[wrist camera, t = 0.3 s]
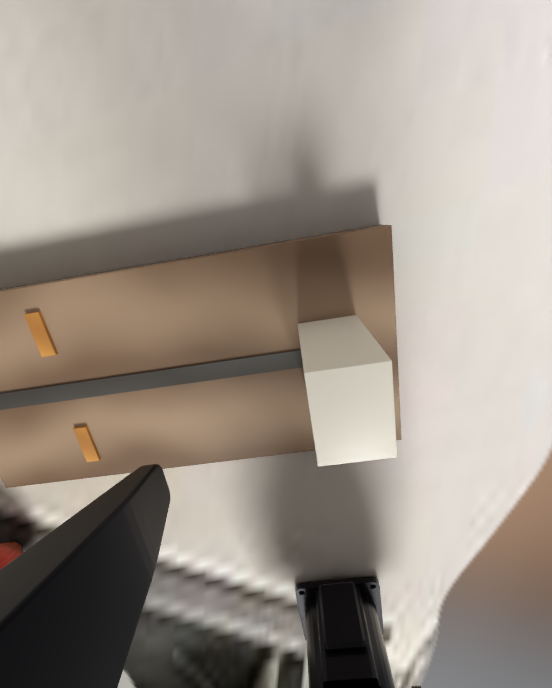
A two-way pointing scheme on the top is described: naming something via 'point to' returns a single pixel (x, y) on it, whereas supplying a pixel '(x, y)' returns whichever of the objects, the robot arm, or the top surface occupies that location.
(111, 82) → the top surface
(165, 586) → the top surface
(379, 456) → the fader knob
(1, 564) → the onion
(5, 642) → the robot arm
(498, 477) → the top surface
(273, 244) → the fader console
